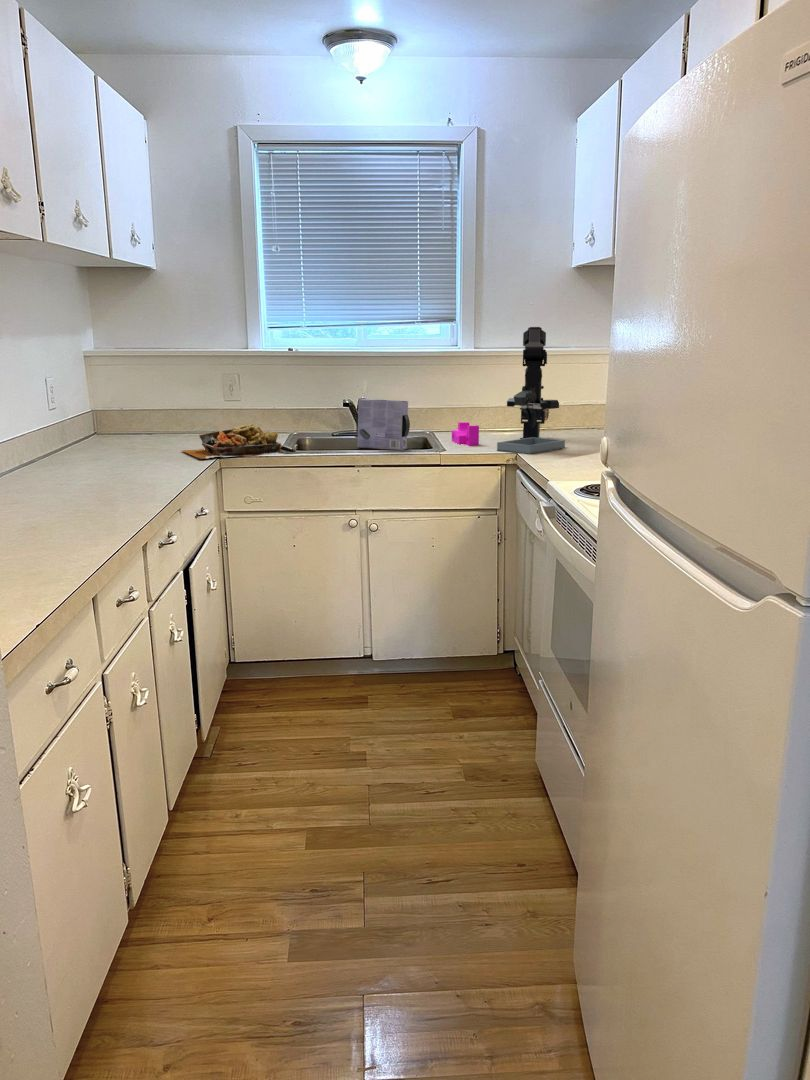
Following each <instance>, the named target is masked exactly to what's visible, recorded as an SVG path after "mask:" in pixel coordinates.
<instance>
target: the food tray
mask: <svg viewBox="0 0 810 1080" xmlns="http://www.w3.org/2000/svg"><path fill="white" fill-rule="evenodd" d="M278 436H279V433H278V432H272V431H270V432H269V433H268V432H267V431H264V430H262V429H261V426H258V427H255V425H254V423H249V424H248V423H247V424H242V425H238V426H235V427H234V426H233V427H232V429H224V430H219V431H215V432H213V431H212V432H208V433H201V434H199V436H198V437H199V438H200V440H201V442H202V443H201V446H203V448H199V449H184V450H180V451H181V452H183V453H186V454H189V455H191V456H193V457H195V458H197V459H200V460H203V459H204V460H205V459H210V458H217V457H220V458H229V457H232V458H233V457H253V456H263V455H264V454H271V453H279V452H282V451H283V450H284V451H287V452H293V453H294V451H296V450H297V446H298V444H295V445H293V447H290V446H288V445H284V444H282V443H281V442H279V441H277V440H278ZM204 449H205V450H204Z"/></svg>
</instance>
